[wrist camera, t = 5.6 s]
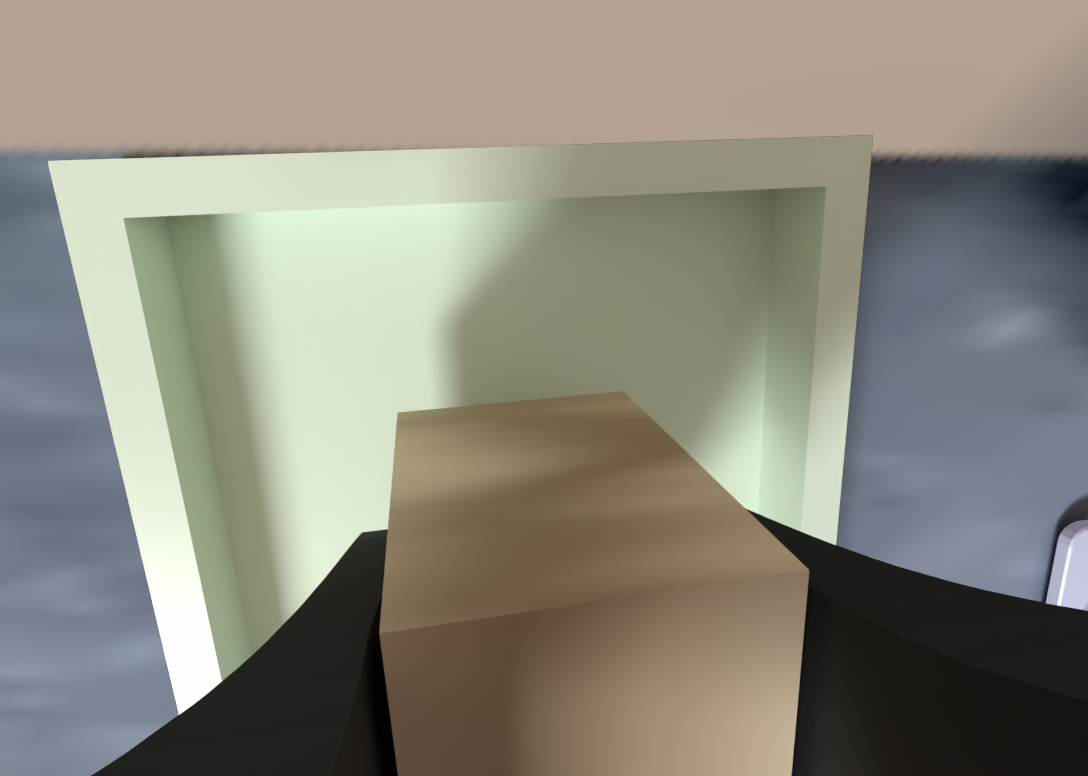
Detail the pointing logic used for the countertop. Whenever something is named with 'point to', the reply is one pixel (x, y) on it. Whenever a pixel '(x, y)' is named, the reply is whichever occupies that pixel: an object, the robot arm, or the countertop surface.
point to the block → (581, 601)
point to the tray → (445, 335)
